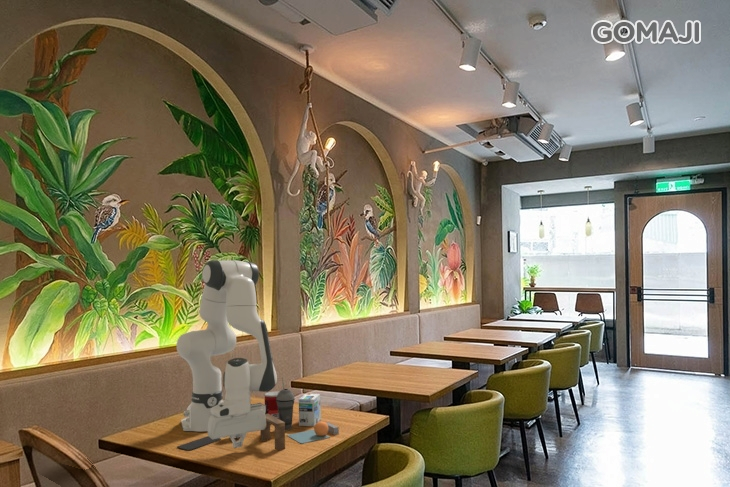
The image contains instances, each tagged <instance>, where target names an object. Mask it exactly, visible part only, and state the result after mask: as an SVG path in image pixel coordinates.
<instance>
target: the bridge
mask: <svg viewBox="0 0 730 487" xmlns="http://www.w3.org/2000/svg"><path fill="white" fill-rule="evenodd" d="M265 417H266V427H265V429H264V430H259V431H260V441H262V442H267V441H270V440H271V425H272V426H273V427H274V450H275V451H282V450H285V449H286V431H285V422H283V421H281V420H279V419H277V418H275V417H273V416H271V415H270V414H265Z"/></svg>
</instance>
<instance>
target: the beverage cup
mask: <svg viewBox="0 0 730 487" xmlns="http://www.w3.org/2000/svg"><path fill="white" fill-rule="evenodd" d="M281 382H282V389H281V390H279V391H280V392H279V393H278V395H277V399H276V401H277V406H278V416H279V420H281V421H283V422H285V432H286V431H290V430H292V425H293V416H294V404H295V395H294V393H293V391H292V390H290V389H288V388H285V383H284V377H282V378H281Z"/></svg>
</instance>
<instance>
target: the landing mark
mask: <svg viewBox="0 0 730 487" xmlns="http://www.w3.org/2000/svg"><path fill="white" fill-rule="evenodd" d="M286 437H288V438H289V439H291V440H294V441H296V442H297V443H298V444H300V445H303V444H307V443H311V442H316V441H317V442H318V441H321V440H326V439H330V438H331V436H329V435H327V434H326V435H324V436H318V435H316V433H315V431H314V429H310V430H305V431H300V432H295V433H291V434H287V435H286Z"/></svg>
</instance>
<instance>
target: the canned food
mask: <svg viewBox="0 0 730 487" xmlns="http://www.w3.org/2000/svg"><path fill="white" fill-rule="evenodd" d="M280 391H281V390H279V391H278V390H277V391H276V390H274V391H269V392H265V393H264V405H265V407H266V412H265V414H270V415H271V416H273V417H275V418H277V419H279V416H278V406H277V401H276V399H277V395H278V393H279V392H280Z"/></svg>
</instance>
